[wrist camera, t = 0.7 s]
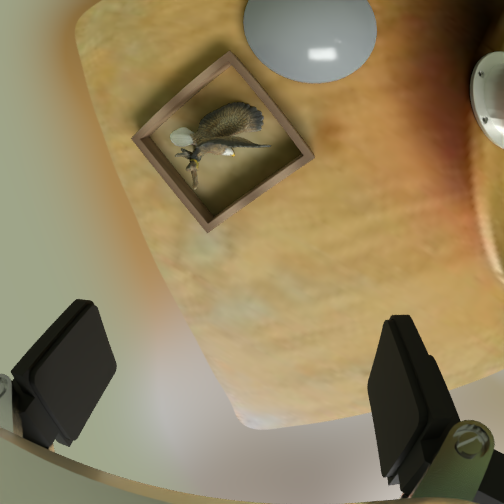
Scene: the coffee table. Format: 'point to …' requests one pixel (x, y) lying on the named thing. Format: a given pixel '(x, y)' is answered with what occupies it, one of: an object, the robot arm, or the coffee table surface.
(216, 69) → the walnut frame
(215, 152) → the eagle figurine
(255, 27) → the grey round plate
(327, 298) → the coffee table surface
